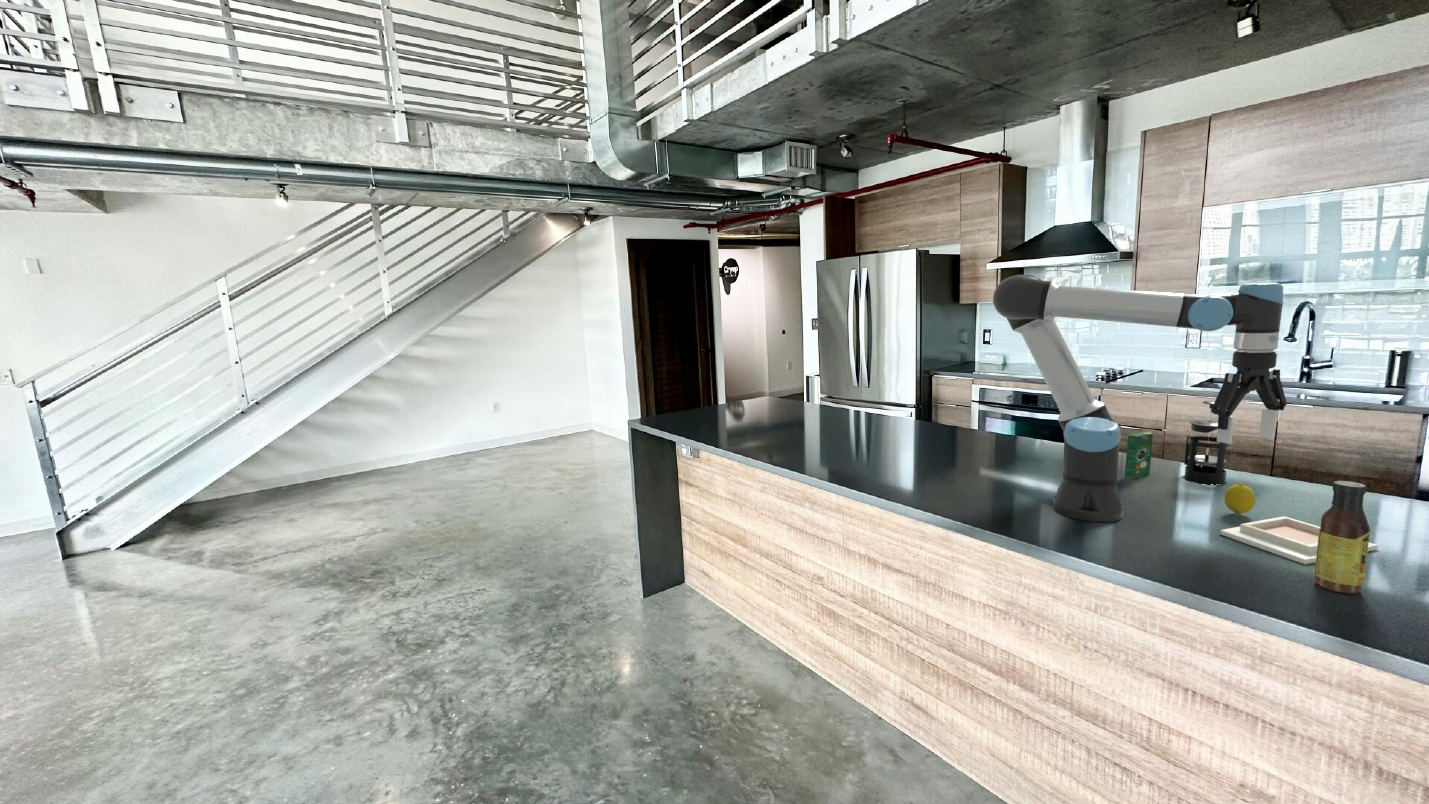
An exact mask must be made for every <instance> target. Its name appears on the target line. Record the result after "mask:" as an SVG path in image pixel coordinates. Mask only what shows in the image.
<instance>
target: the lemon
mask: <svg viewBox="0 0 1429 804" xmlns="http://www.w3.org/2000/svg"><path fill="white" fill-rule="evenodd" d="M1223 500H1224V505H1225V506H1226V507H1227V509H1229V510H1230V511H1232V512H1234V514H1235V515H1238V516H1239V515H1242V514H1245V513H1249V512H1250V511H1251V510H1252V509H1253V508H1254V507H1255V503H1256V496H1255V492H1254V491H1253V489H1252V488H1250V487H1249V486H1248V485H1245V484H1244V483H1241V482H1240V483H1236V484H1234V485H1231V486H1229V487H1228V488H1227V489H1226V490H1225V494H1224V499H1223Z"/></svg>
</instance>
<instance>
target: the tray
mask: <svg viewBox="0 0 1429 804" xmlns="http://www.w3.org/2000/svg"><path fill="white" fill-rule="evenodd" d="M1320 527H1321V526H1319V525H1316V524H1313V523H1308V522H1304V521H1302V520H1298V519H1295V518H1291V517H1288V516H1285V515H1284V516H1278V517H1272V518H1268V519H1266V518H1265V519H1261V520H1256V521H1250V522H1245V523H1240V525H1239V526H1236V527H1229V528H1225V529H1220V533H1219V534H1220V535H1222V536H1224V537H1227V538H1230V539H1232V540H1235V541H1237V542H1242V543H1245V544H1247V545H1250V546H1252V547H1255V548H1257V549H1258V548H1259V549H1261V550H1263V551H1267V552H1270V553H1273V554H1275V555H1277V556H1280V557H1283V558H1285V559H1289V560H1292V561H1295V562H1298V563H1300V564H1304V565H1308V564H1313V563H1316V555H1317V546H1318V537H1319V530H1320ZM1378 549H1379V545H1378V544H1375V543H1372V542H1369V544H1368V552H1373V551H1376V550H1377V551H1378Z"/></svg>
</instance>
